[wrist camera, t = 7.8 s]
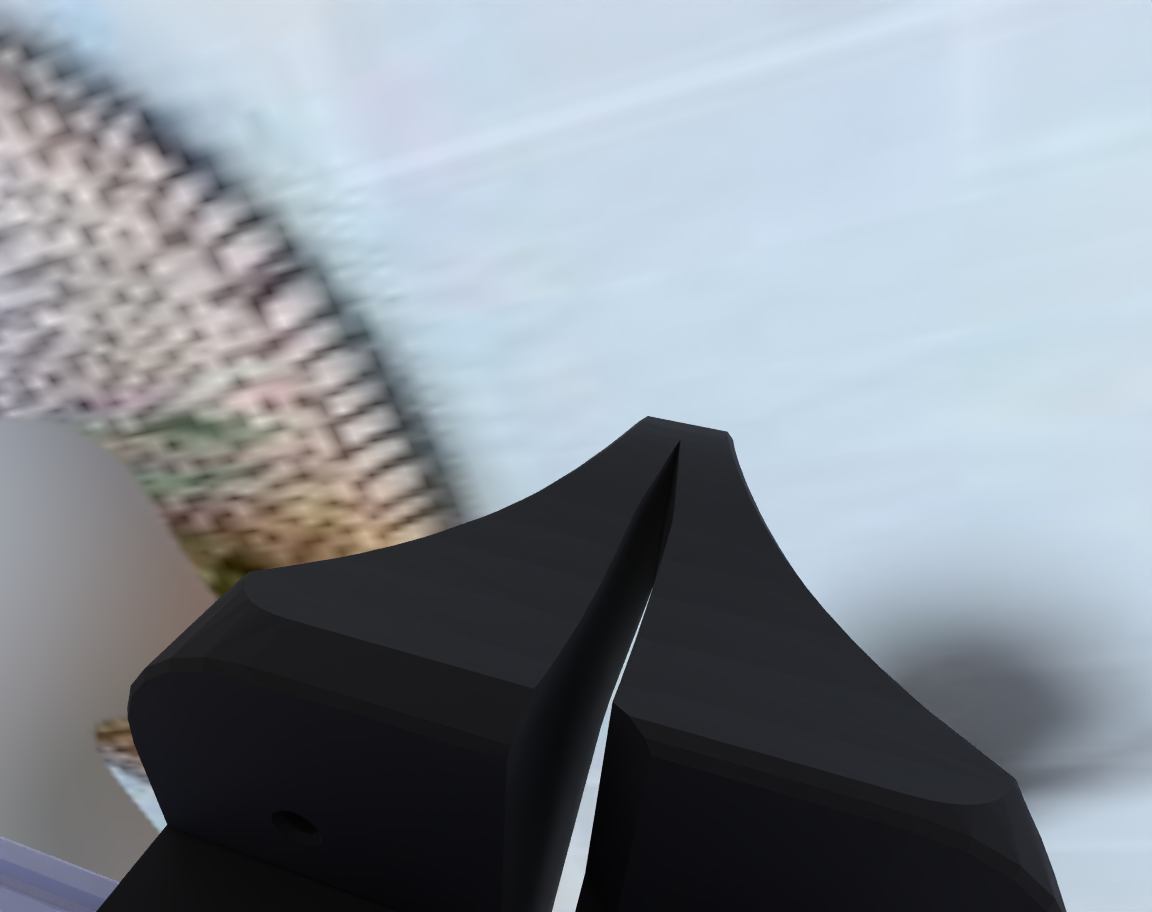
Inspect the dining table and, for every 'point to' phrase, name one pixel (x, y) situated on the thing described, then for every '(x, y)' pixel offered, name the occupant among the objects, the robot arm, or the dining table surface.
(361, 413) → the dining table surface
